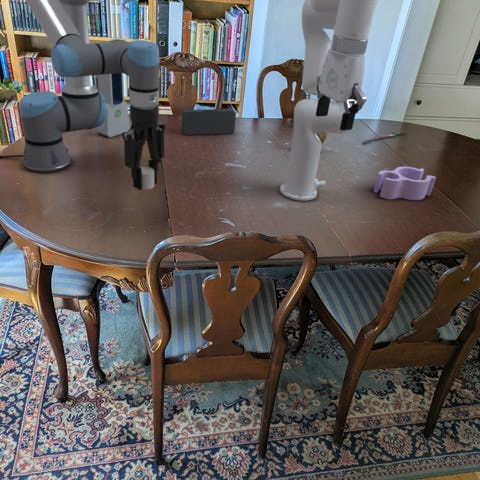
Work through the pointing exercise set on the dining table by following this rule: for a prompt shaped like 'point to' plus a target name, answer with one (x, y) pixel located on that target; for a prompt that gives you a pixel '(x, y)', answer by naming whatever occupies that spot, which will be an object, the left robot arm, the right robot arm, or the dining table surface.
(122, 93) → the electronic device
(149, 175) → the grey solid cylinder
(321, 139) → the lion figurine
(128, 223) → the dining table surface
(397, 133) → the sword
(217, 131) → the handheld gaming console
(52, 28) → the left robot arm
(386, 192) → the clip
